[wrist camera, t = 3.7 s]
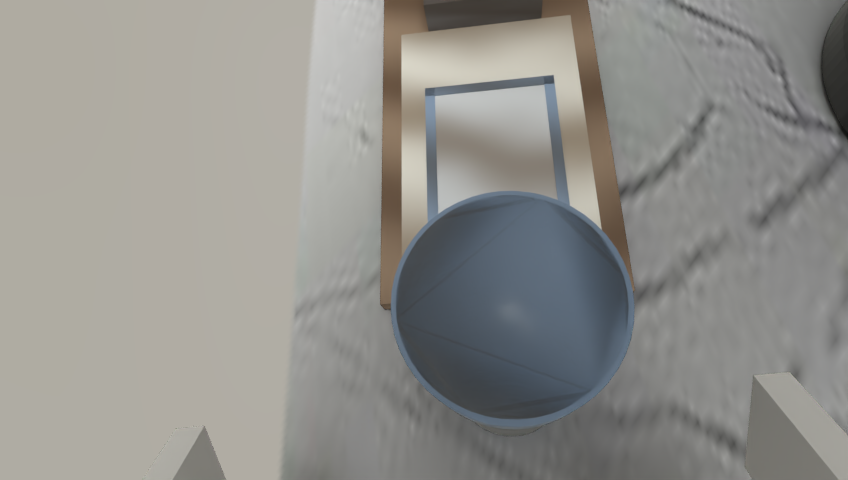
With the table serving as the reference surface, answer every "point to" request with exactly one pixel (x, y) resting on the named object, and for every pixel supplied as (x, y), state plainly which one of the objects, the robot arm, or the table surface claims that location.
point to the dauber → (512, 309)
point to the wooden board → (491, 114)
